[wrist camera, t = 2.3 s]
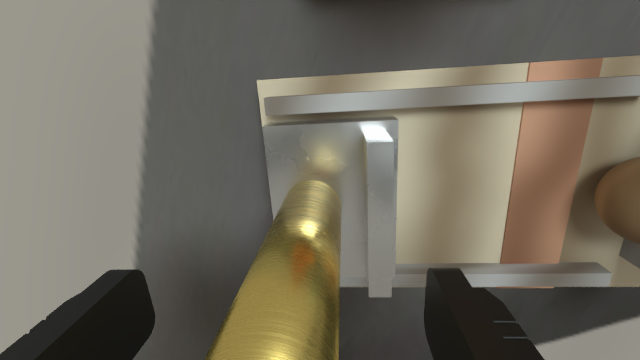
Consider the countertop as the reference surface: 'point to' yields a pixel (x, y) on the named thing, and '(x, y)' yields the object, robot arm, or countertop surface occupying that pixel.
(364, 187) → the handle
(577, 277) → the board
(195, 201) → the countertop surface
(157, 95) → the countertop surface
